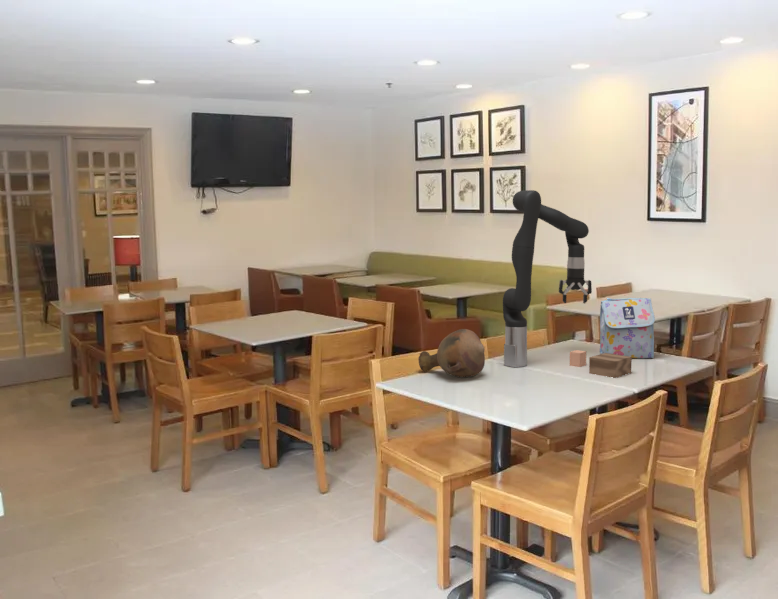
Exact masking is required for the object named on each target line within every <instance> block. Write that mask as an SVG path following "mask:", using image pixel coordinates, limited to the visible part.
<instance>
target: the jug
mask: <svg viewBox="0 0 778 599" xmlns="http://www.w3.org/2000/svg"><path fill="white" fill-rule="evenodd" d="M485 352H486V351H485V346H484V344H483V343H482V340H481V338H480V337H479V336H478V334H477V333H475V332H474V331H473V330H471V329H467V328H461V329H457V330H455V331H453V332H450V333H449V334H447V335H446V336H445V337H444V338H443V339H442V340H441V342H440V343H439V346H438V347H437V352H436V353H434V354H430V353H429V352H428V351H425V350H424V351H421V352H420V353H419V356H418V365H419V368H420V370H421V372H423V373H424V374H425V373H427V372H428V371H430V370H432V369H434V368H435V367H436V368H437V367H440V369H441V370H442V371H444V372H445V373H446V374H448V375H449V376H452V377H457V378H469V377H473V376H475V375H478V374H480V373H481V372H482V371H483V369H484V367H485V362H486V358H485V356H486V355H485Z"/></svg>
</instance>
